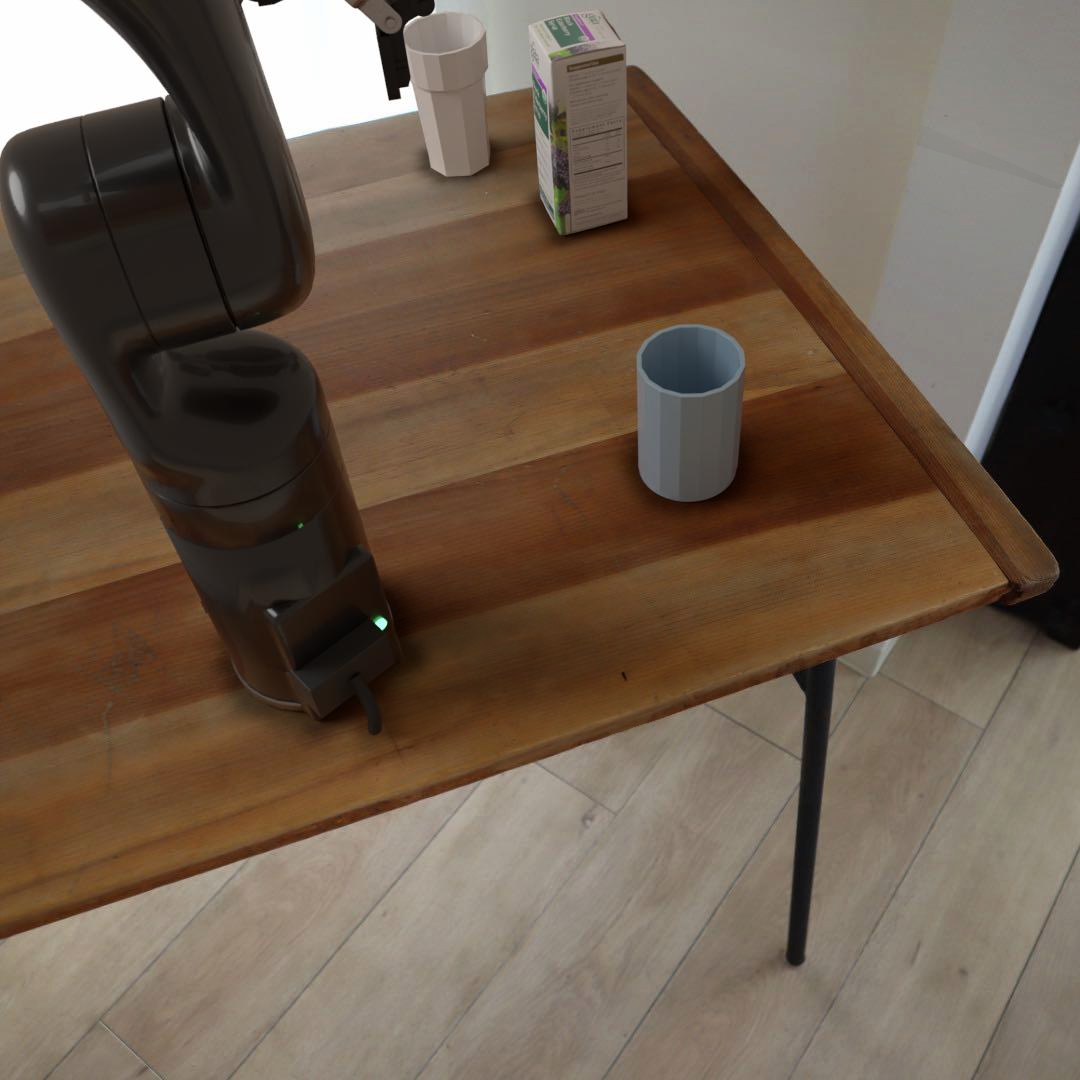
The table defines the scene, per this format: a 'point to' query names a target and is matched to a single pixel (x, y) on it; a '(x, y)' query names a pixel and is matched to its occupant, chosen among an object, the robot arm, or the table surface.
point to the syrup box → (580, 119)
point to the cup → (450, 89)
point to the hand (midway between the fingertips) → (316, 104)
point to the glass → (689, 411)
